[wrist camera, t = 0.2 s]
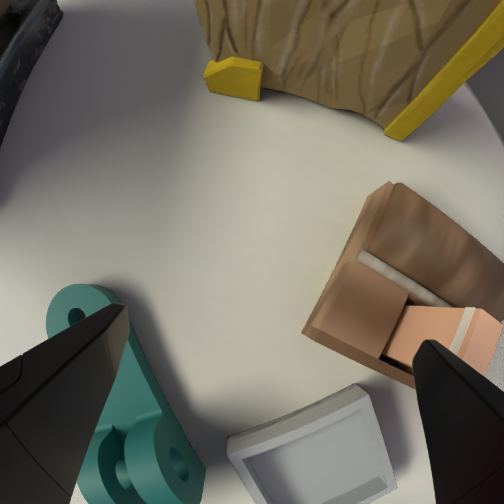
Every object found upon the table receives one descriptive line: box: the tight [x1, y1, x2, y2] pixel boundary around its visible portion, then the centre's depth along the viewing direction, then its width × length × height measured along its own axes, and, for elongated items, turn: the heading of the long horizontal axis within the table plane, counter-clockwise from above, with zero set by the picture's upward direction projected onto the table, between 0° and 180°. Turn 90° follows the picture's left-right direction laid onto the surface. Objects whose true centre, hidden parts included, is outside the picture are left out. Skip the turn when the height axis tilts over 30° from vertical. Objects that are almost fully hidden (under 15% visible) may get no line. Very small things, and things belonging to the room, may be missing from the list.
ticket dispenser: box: [301, 181, 504, 389], centre depth 20 cm, size 12×14×7 cm
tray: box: [227, 384, 398, 504], centre depth 20 cm, size 11×11×3 cm
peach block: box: [381, 305, 504, 376], centre depth 18 cm, size 4×2×11 cm, turn 151°
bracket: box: [46, 284, 206, 504], centre depth 18 cm, size 18×7×8 cm, turn 23°
